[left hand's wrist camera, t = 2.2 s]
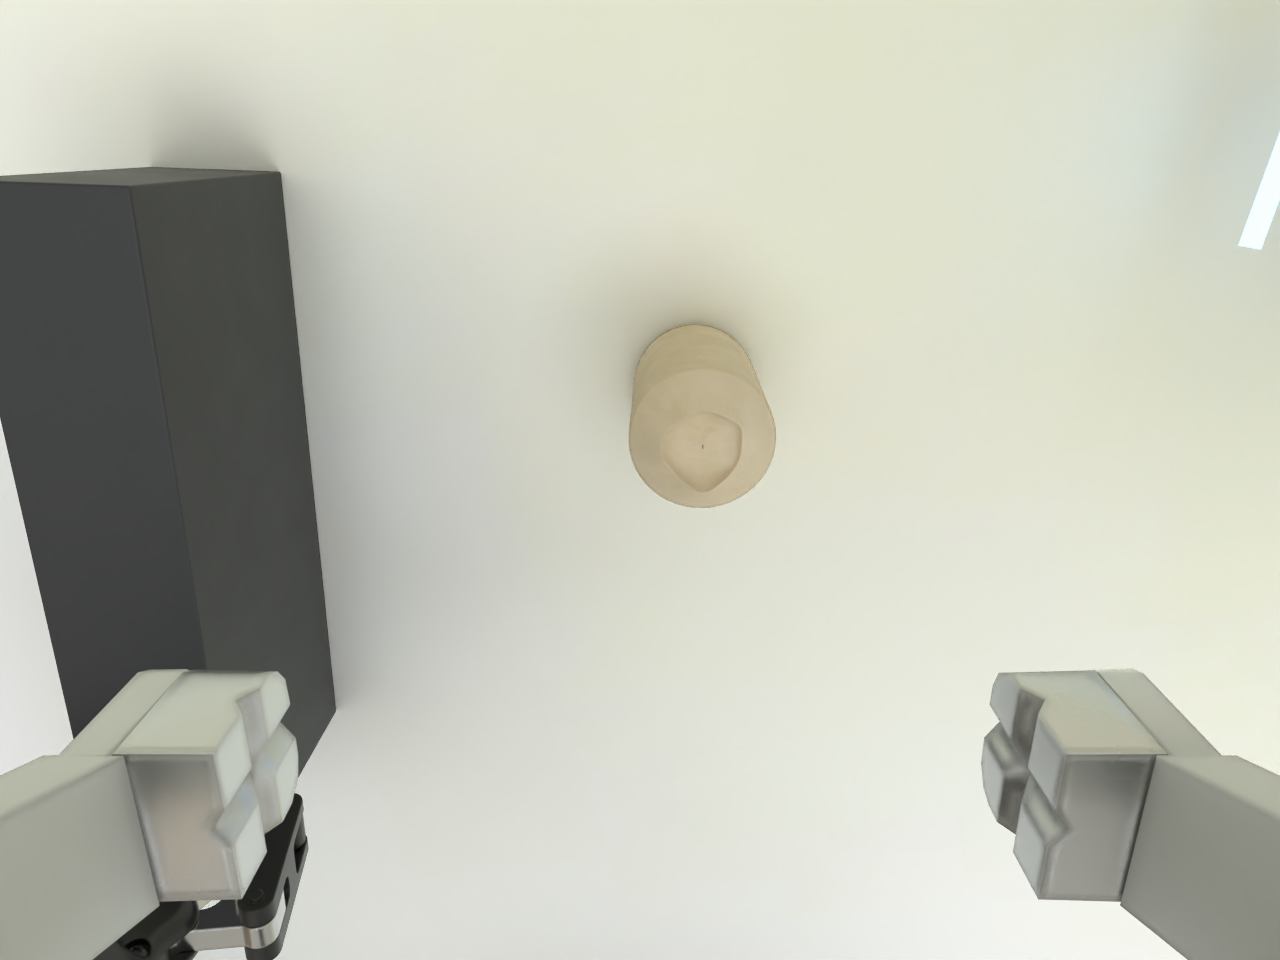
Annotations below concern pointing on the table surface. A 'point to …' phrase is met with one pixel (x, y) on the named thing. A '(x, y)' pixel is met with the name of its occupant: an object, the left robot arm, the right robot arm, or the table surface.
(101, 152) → the table surface
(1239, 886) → the left robot arm
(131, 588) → the box
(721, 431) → the candle
